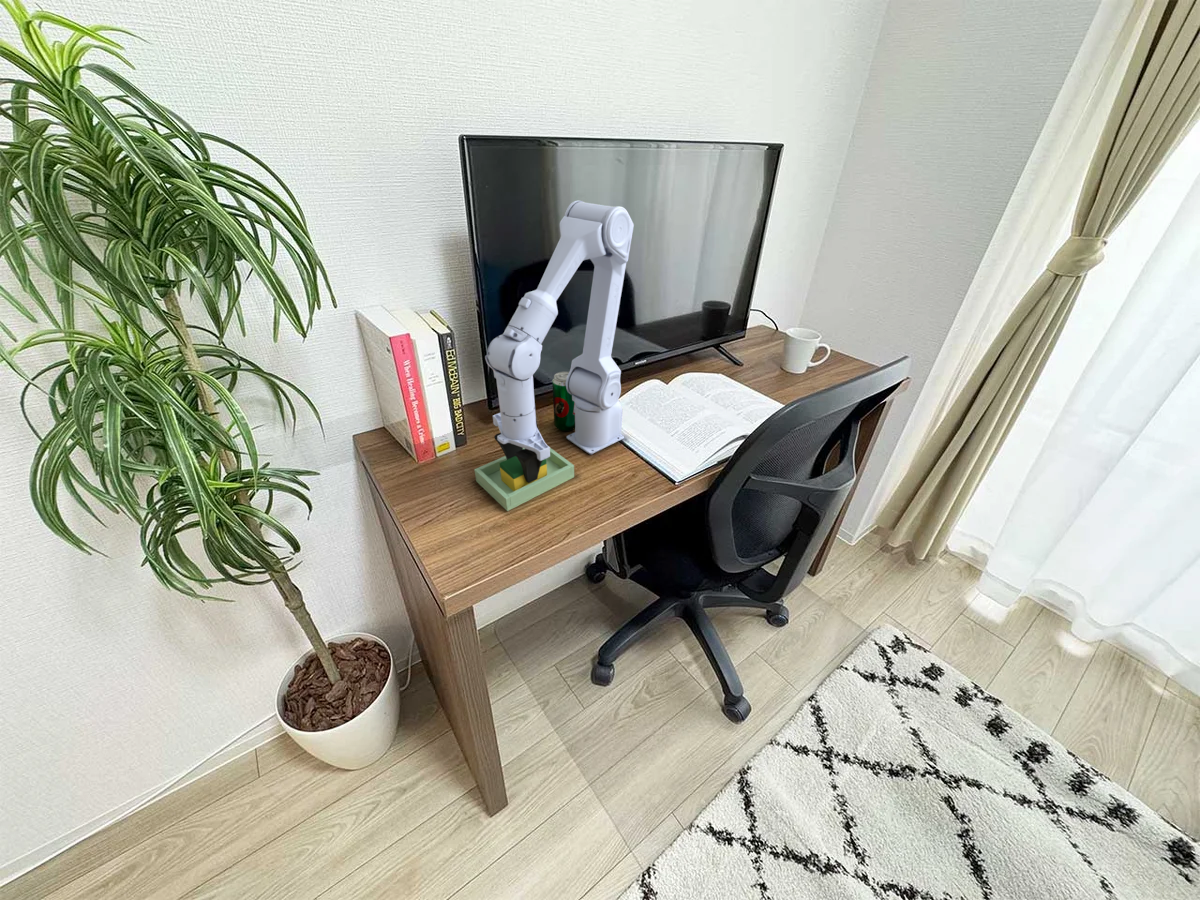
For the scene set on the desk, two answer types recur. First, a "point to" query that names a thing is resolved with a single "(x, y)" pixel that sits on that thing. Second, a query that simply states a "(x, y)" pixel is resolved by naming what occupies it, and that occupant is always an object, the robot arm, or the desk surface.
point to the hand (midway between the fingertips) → (523, 473)
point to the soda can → (562, 403)
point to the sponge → (517, 473)
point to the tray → (509, 499)
